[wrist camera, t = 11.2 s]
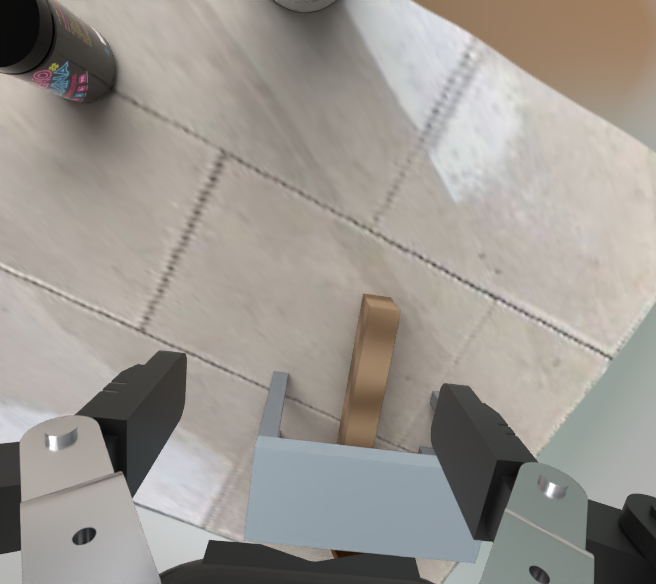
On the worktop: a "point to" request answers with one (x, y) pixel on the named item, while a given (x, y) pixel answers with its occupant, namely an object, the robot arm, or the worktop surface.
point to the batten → (368, 371)
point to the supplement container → (54, 50)
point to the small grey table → (351, 496)
